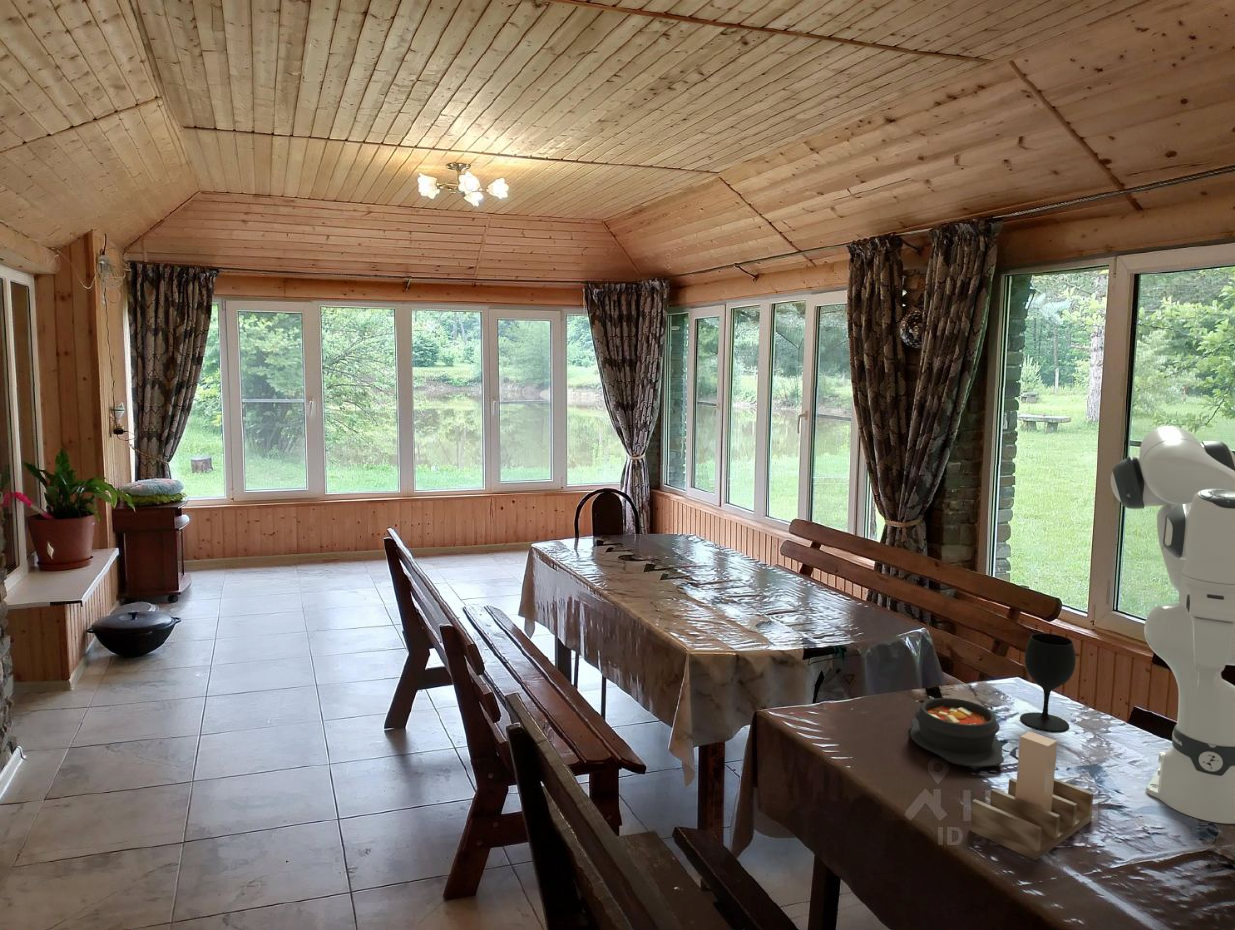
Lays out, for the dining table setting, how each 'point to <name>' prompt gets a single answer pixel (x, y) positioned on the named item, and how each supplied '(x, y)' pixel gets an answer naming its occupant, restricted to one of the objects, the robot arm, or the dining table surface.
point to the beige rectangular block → (1036, 770)
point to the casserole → (958, 732)
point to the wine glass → (1048, 675)
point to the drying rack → (1032, 818)
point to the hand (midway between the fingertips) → (1203, 680)
